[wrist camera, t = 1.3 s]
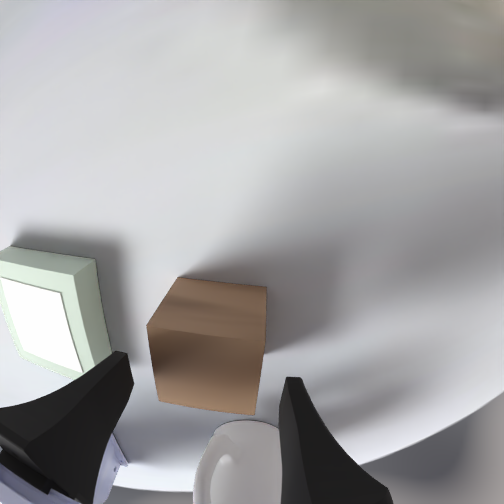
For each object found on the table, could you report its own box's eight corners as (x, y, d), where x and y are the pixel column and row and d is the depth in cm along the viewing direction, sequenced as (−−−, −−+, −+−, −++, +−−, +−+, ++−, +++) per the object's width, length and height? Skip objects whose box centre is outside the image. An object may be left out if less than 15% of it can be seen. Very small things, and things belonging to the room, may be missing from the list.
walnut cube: (258, 355, 18) (254, 415, 13) (181, 345, 18) (158, 400, 13) (266, 286, 16) (265, 341, 11) (178, 276, 16) (146, 325, 11)
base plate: (115, 368, 19) (102, 390, 16) (35, 341, 19) (19, 357, 17) (95, 259, 16) (72, 276, 13) (9, 246, 16) (-13, 258, 14)
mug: (296, 450, 21) (300, 563, 10) (229, 459, 23) (215, 563, 11) (260, 384, 18) (251, 550, 7) (177, 398, 19) (134, 534, 8)
